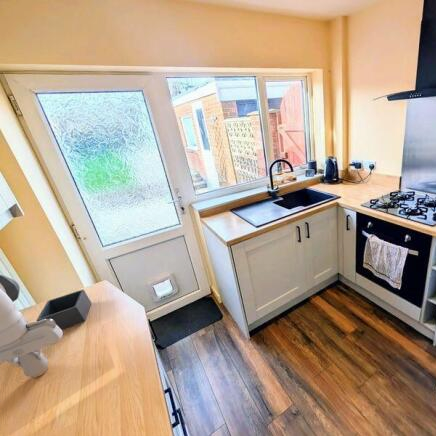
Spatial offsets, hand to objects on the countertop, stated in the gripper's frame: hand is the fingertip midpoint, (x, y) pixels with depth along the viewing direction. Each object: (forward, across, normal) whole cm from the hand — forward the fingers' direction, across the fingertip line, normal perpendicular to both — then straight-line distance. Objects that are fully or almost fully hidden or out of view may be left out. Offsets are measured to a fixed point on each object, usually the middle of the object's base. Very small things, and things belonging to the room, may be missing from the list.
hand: (31, 361), depth 80 cm
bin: (+6, -2, -26) cm, 27 cm away
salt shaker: (+5, 0, 0) cm, 5 cm away
